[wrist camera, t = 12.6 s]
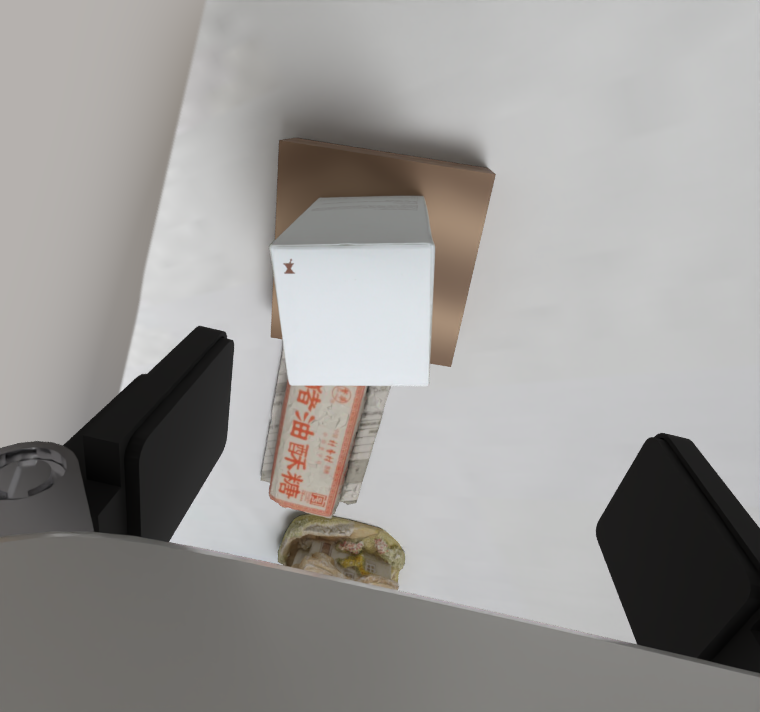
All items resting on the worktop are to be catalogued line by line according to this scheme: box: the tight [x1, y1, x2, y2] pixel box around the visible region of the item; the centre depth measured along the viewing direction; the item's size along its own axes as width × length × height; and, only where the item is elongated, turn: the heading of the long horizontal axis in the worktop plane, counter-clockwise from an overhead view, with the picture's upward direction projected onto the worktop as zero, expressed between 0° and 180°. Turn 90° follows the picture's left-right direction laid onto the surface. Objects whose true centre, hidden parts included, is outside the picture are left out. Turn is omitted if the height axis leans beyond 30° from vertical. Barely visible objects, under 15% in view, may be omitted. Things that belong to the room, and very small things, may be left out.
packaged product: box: [261, 346, 391, 519], centre depth 44 cm, size 18×5×10 cm
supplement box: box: [269, 196, 435, 386], centre depth 28 cm, size 7×7×13 cm
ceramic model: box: [278, 514, 405, 590], centre depth 49 cm, size 14×11×10 cm
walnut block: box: [271, 138, 496, 367], centre depth 36 cm, size 14×14×5 cm
